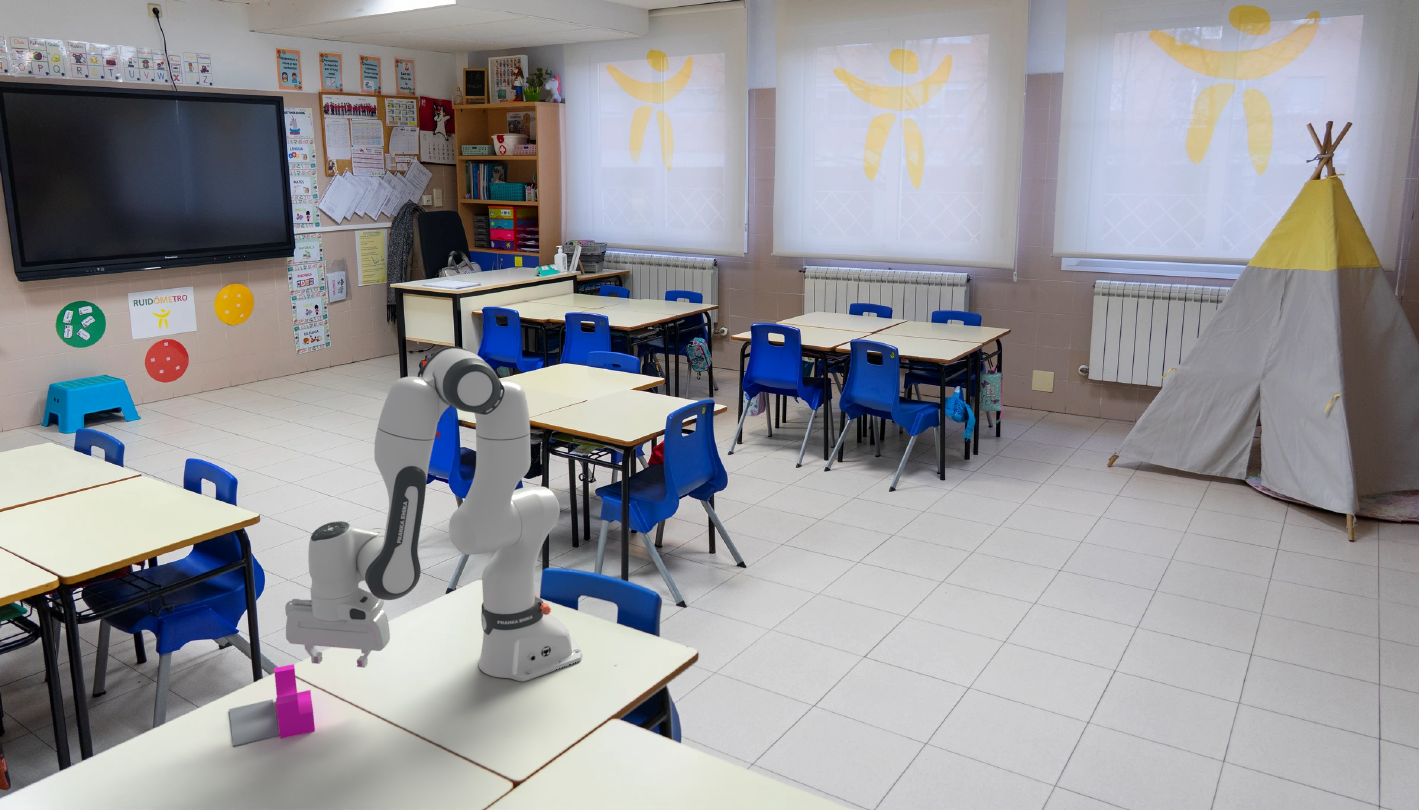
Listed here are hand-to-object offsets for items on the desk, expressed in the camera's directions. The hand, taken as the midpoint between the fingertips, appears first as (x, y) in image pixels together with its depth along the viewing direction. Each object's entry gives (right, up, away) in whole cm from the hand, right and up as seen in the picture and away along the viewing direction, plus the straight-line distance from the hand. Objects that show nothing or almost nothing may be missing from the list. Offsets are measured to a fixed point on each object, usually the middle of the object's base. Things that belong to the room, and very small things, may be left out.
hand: (339, 664), depth 197 cm
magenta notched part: (-8, -10, -3) cm, 13 cm away
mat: (-15, -10, -6) cm, 19 cm away
